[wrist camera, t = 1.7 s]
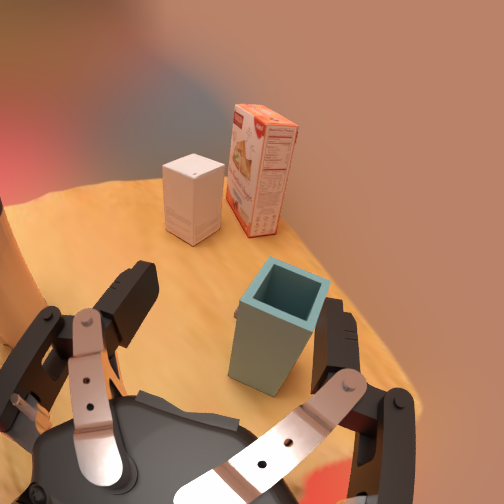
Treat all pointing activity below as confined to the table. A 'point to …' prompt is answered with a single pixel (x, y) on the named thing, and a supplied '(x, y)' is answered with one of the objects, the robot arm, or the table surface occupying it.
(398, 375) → the table surface
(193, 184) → the supplement box
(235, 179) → the cracker box
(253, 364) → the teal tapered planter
